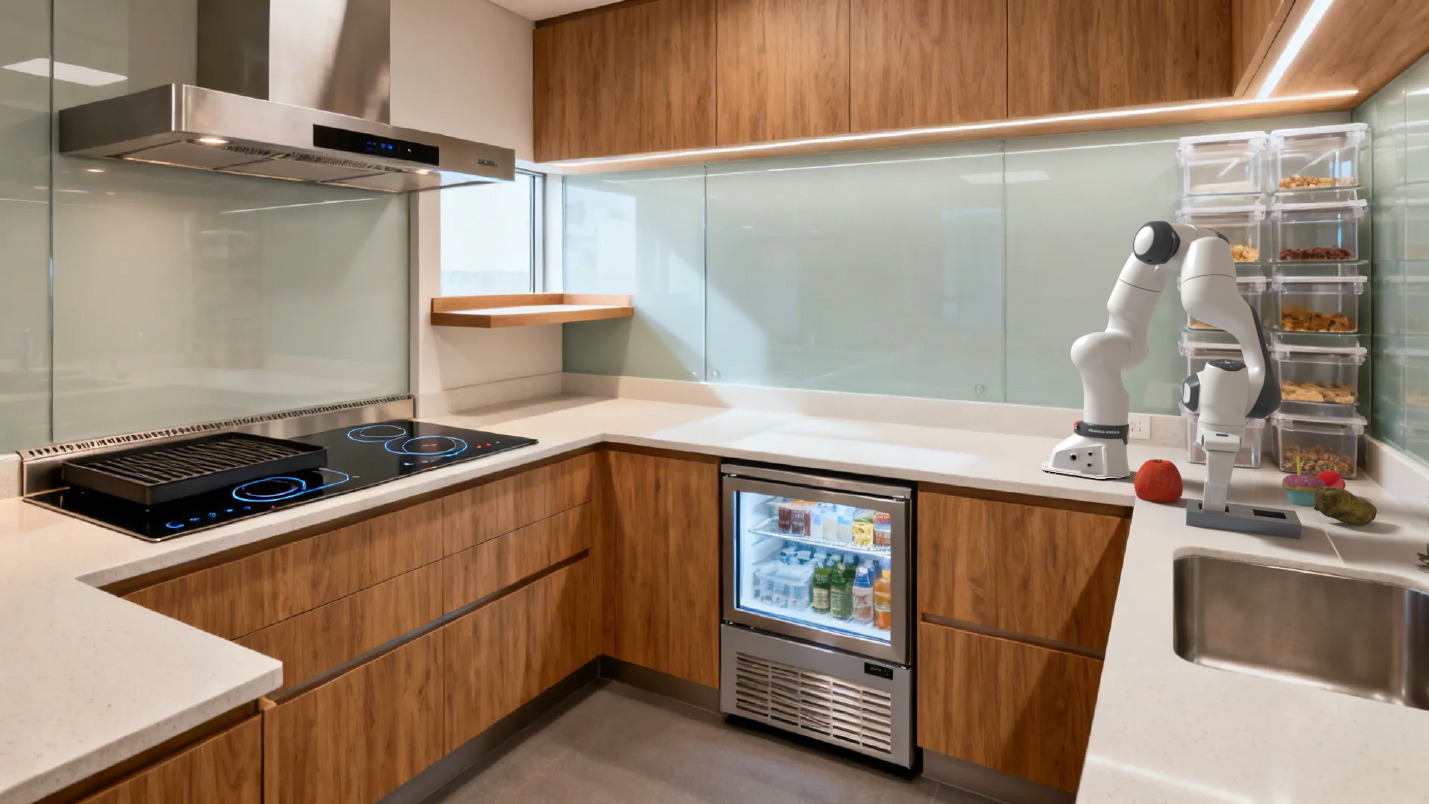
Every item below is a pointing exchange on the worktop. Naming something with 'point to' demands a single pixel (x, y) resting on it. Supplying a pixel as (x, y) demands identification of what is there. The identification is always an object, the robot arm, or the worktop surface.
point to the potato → (1343, 506)
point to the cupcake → (1302, 486)
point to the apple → (1158, 481)
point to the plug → (1207, 498)
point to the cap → (1332, 479)
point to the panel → (1245, 519)
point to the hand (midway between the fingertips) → (1214, 498)
